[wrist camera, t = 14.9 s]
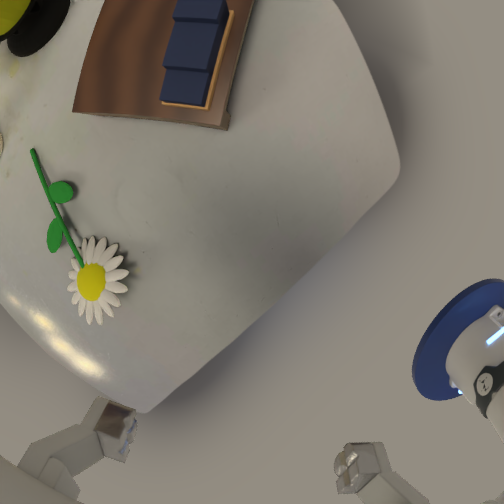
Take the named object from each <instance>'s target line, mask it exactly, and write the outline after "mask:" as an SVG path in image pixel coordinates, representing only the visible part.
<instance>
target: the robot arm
mask: <svg viewBox="0 0 504 504" xmlns="http://www.w3.org/2000/svg"><path fill="white" fill-rule="evenodd" d="M446 371H447V373H448V375H449V376H450V380H449V384H450V386H451V387H452V388H456V387H457V388H458V389H459V391H458V392H459V394H463V395H464V396H465V398H466V399H467V400H468V401H469V403H471V404H476V405H477V407H478V409H479V411H480V412H481V414H483V416H484V417H485V418H488V419H489V421H490V422H491V424H492V425H493V427H494V429H495V431H496V432H497V434H498V436H499V437H500V439H501V441H502V442H503V444H504V309H503V308H502V307H500V306H499V305H494V306H493V307H492V308H491V309H490V310H489V311H488V312H487V313H486V314H485V315H484V316H483V317H481V318H479V319H477V320H476V321H474V322H473V323H472V324H470V325H469V326H468V327H467V328H466V329H465V330H464V331H463V332H462V333H461V334H460V335H459V337H458V338H457V339H456V341H455V342H454V344H453V345H452V347H451V349H450V351H449V353H448V356H447V359H446ZM135 416H136V409H133V408H130V407H127V406H124V405H122V404H119V403H116V402H113V401H111V400H108V399H106V398H103V397H100V396H98V397H97V398H96V399H95V400H94V402H93V404H92V405H91V407H90V409H89V411H88V412H87V414H86V416H85V417H84V419H83V421H82V423H81V424H80V425H78V424H75V425H73V426H71V427H69V428H67V429H64V430H62V431H60V432H58V433H55V434H53V435H50V436H48V437H46V438H43V439H41V440H38V441H36V442H34V443H31V445H30V446H29V448H28V450H27V451H26V453H25V454H24V456H23V458H22V459H21V461H20V463H19V464H18V466H17V467H16V466H15V465H13V464H12V463H10V462H9V461H8V460H6V459H5V458H3V457H2V456H1V455H0V504H83V503H81V502H79V501H77V498H78V495H79V493H80V489H79V487H78V485H77V484H76V482H75V481H74V479H73V477H74V476H76V475H77V474H79V473H80V472H82V471H84V470H85V469H87V468H89V467H90V466H92V465H93V464H95V463H96V462H98V461H99V460H101V459H102V458H104V456H105V457H108V458H111V459H114V460H117V461H120V462H123V463H125V461H126V458H127V456H128V453H129V451H130V450H129V444H130V443H132V442H133V441H134V438H135V435H136V431H137V421H136V420H135ZM334 471H335V473H336V475H337V476H338V477H339V478H338V479H337V481H336V483H337V490H338V494H350V493H357V496H358V497H359V498H360V499H361V500H362V502H363V503H364V504H429V500H428V499H427V498H426V497H424V496H423V495H422V494H421V493H420V492H418V491H417V490H416V489H415V488H414V487H413V486H411V485H410V484H409V483H408V482H407V481H405V480H404V479H403V478H402V477H401V476H400V475H398V474H397V473H396V472H392V470H391V466H390V463H389V460H388V457H387V453H386V450H385V448H384V444H383V443H382V442H361V443H360V442H359V443H347V444H346V445H345V446H344V451H342V452H341V453H339V454H338V455H337V457H336V459H335V463H334ZM482 504H504V491H503V492H502V493H501V494H500V495H499V497H497V498H496V499H495V501H494V500H489V501H486V502H484V503H482Z"/></svg>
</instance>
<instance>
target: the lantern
mask: <svg viewBox="0 0 504 504" xmlns="http://www.w3.org/2000/svg"><path fill="white" fill-rule="evenodd" d="M69 6H70V0H0V43H1V41H3V40H5V39H7V44H8V48H9V50H10V51H11V53H13V54H14V55H16V56H19V57H23V56H29V55H31V54H33V53H35V52H37V51H38V50H39V49H41V48H42V47H43V46H44V45H45V44H46V43H47V42H48V41H49V40H50V39H51V38H52V37H53V36H54V35H55V33H56V32H57V30H58V29H59V28H60V26H61V24H62V23H63V21H64V19H65V17H66V15H67V12H68V9H69Z"/></svg>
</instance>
